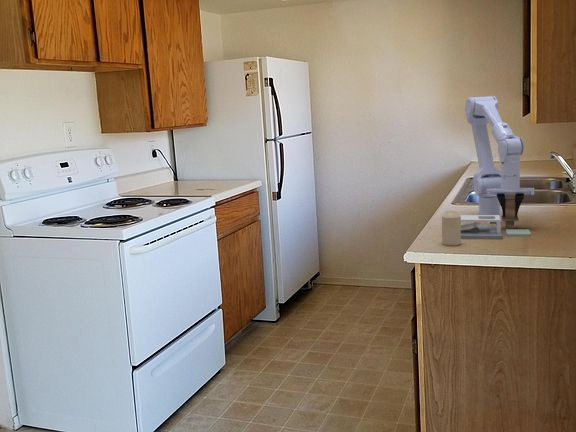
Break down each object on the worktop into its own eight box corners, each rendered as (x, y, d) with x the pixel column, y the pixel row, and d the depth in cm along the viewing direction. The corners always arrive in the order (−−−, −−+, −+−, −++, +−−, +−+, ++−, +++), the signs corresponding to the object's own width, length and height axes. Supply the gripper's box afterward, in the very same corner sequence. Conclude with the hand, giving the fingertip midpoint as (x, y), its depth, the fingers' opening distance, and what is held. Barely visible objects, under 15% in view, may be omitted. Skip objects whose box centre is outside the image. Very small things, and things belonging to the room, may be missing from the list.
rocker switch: (461, 227, 199) (460, 224, 199) (489, 222, 196) (489, 219, 196) (461, 230, 195) (460, 227, 195) (490, 225, 192) (489, 221, 192)
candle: (441, 245, 183) (440, 213, 182) (443, 241, 188) (443, 209, 187) (459, 246, 181) (459, 213, 180) (461, 242, 186) (461, 209, 185)
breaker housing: (450, 229, 205) (450, 213, 204) (500, 229, 200) (500, 213, 199) (448, 238, 192) (448, 221, 191) (502, 239, 187) (502, 221, 186)
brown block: (501, 226, 204) (501, 198, 202) (517, 226, 202) (517, 198, 201) (502, 229, 199) (502, 200, 197) (518, 229, 198) (518, 200, 196)
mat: (505, 231, 198) (505, 229, 197) (528, 231, 195) (528, 229, 195) (506, 235, 191) (506, 233, 191) (530, 236, 189) (530, 234, 189)
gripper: (487, 177, 196) (487, 218, 198) (535, 176, 192) (534, 218, 194) (486, 174, 203) (486, 214, 205) (533, 173, 198) (532, 214, 201)
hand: (509, 216), depth 200 cm, fingers closed on brown block, 3 cm apart
